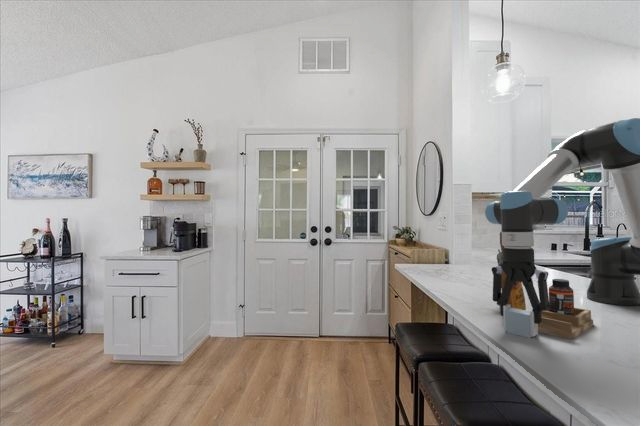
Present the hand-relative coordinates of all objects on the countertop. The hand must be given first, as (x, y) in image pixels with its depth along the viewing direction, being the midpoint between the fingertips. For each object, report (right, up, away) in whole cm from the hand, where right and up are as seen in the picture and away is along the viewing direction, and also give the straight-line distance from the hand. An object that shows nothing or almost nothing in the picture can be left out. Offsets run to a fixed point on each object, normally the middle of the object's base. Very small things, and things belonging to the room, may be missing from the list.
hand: (520, 331), depth 88 cm
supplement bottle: (+17, +1, +7) cm, 18 cm away
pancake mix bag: (+7, -1, +16) cm, 18 cm away
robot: (+13, -1, +30) cm, 33 cm away
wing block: (0, 0, 0) cm, 0 cm away
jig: (+14, 0, +5) cm, 15 cm away
